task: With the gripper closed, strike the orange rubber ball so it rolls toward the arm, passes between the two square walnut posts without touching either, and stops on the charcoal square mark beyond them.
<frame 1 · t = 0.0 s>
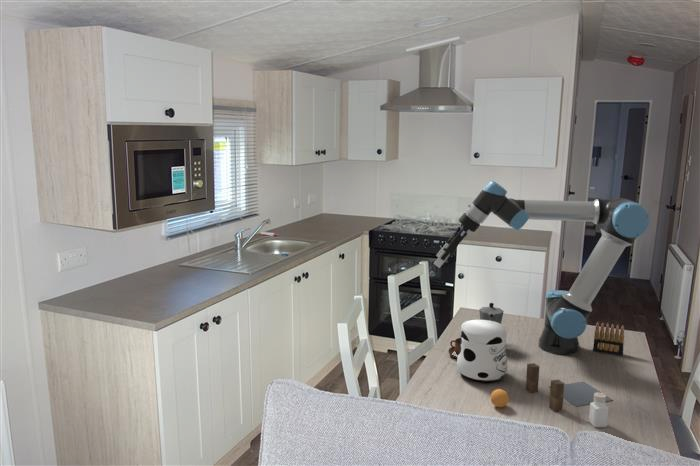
hand: (437, 261, 215), 36 cm above the table, tool tilted 35°, fingers open, 13 cm apart
pepper shaker: (597, 425, 166), on the table
coffeepot: (489, 345, 227), on the table
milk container: (481, 375, 199), on the table
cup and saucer: (464, 356, 216), on the table
post 2: (555, 408, 175), on the table
post 1: (531, 390, 187), on the table
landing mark: (580, 393, 185), on the table
ball: (499, 398, 176), on the table
ammunition clip: (607, 353, 219), on the table
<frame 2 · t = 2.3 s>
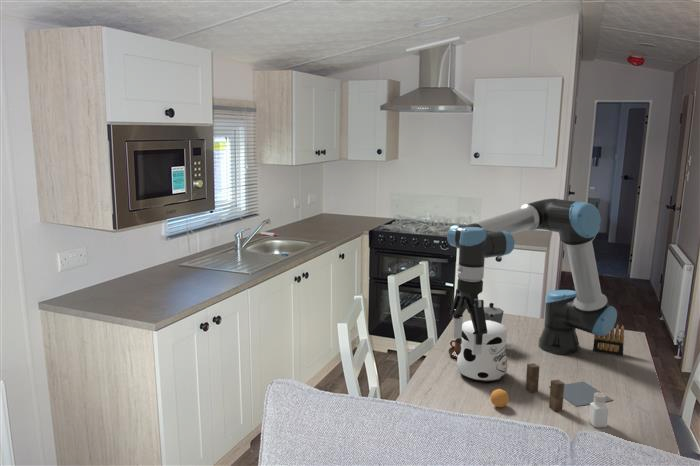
hand: (466, 345, 173), 20 cm above the table, tool pointing down, fingers open, 13 cm apart
nothing on the table moved.
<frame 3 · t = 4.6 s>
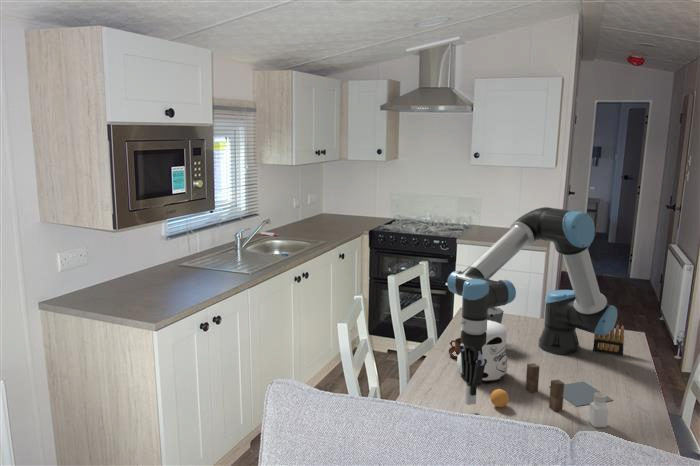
hand: (470, 403, 174), 3 cm above the table, tool pointing down, fingers closed
nothing on the table moved.
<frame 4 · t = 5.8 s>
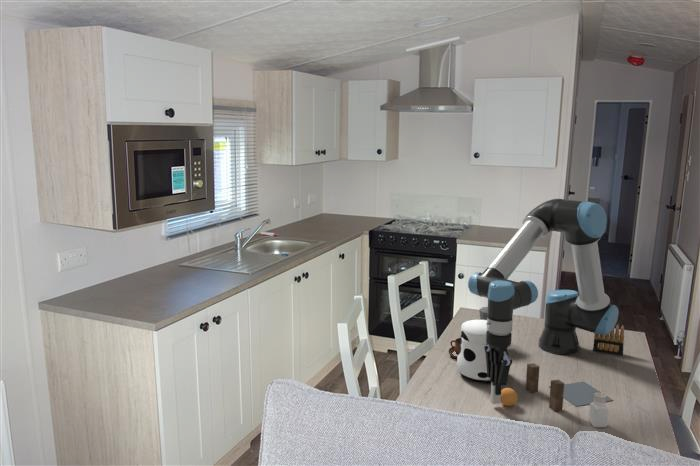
hand: (495, 402, 177), 1 cm above the table, tool pointing down, fingers closed
ball: (508, 396, 177), on the table
everything else where it was.
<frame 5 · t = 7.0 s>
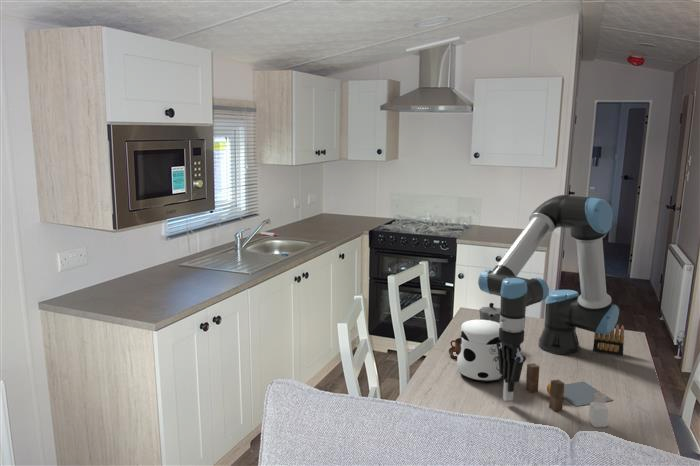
hand: (507, 399, 177), 2 cm above the table, tool pointing down, fingers closed
ball: (555, 389, 182), on the table
everything else where it was.
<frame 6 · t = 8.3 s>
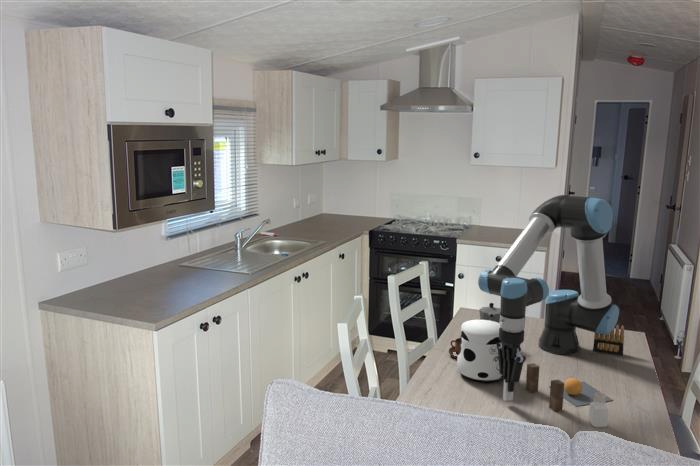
hand: (507, 399, 177), 2 cm above the table, tool pointing down, fingers closed
ball: (573, 386, 184), on the table
everything else where it was.
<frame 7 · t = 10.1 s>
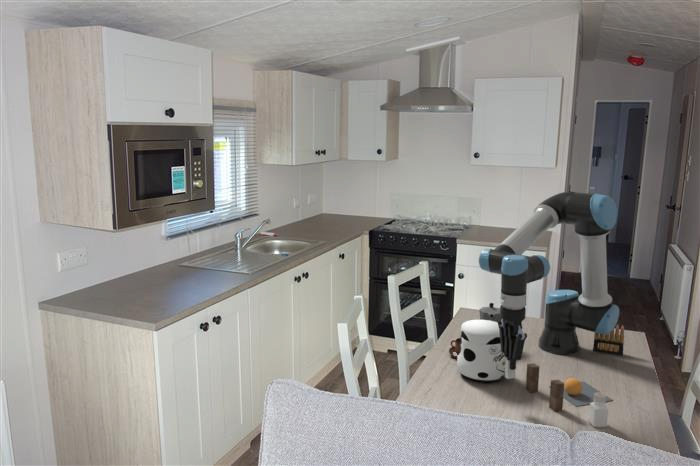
hand: (509, 377, 176), 9 cm above the table, tool pointing down, fingers closed
nothing on the table moved.
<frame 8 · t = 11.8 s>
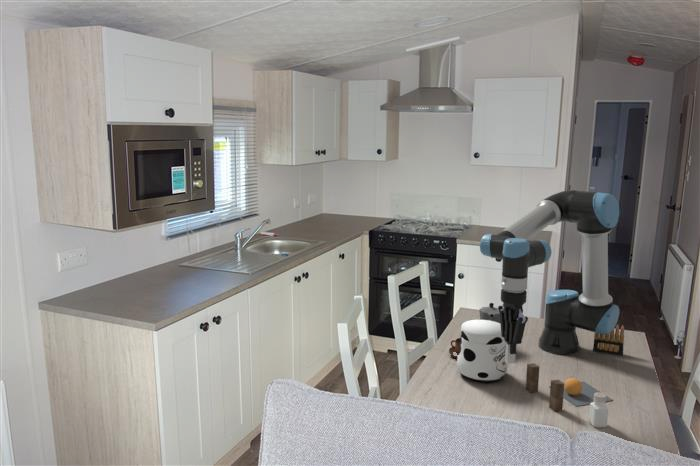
hand: (509, 362, 175), 14 cm above the table, tool pointing down, fingers closed
nothing on the table moved.
at the end: ball 2.7 cm from the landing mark (horizontally); ball never touched post 2; ball never touched post 1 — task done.
